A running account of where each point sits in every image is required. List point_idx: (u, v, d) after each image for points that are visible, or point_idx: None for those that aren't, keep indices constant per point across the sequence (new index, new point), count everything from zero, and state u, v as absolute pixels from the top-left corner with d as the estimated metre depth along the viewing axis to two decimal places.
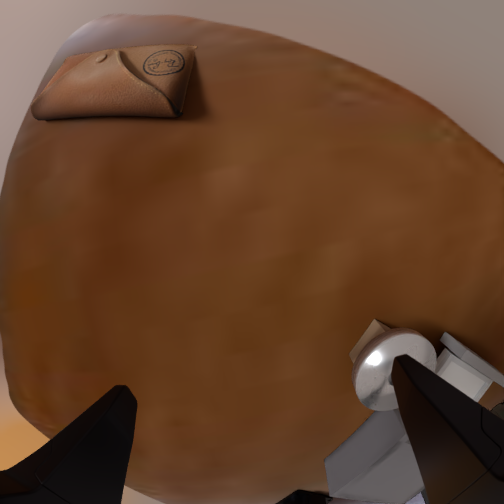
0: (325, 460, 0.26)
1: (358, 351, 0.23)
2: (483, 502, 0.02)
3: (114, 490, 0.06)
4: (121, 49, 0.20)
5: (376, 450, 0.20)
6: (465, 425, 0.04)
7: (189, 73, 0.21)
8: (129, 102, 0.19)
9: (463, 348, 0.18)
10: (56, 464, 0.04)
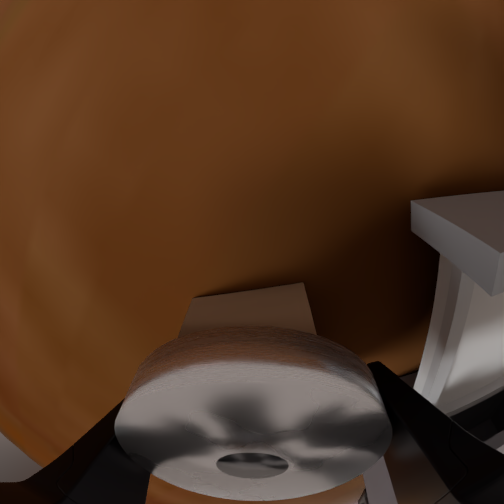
0: None
1: None
2: None
3: (138, 495, 0.06)
4: None
5: None
6: (432, 439, 0.04)
7: None
8: None
9: (485, 250, 0.04)
10: (80, 472, 0.04)
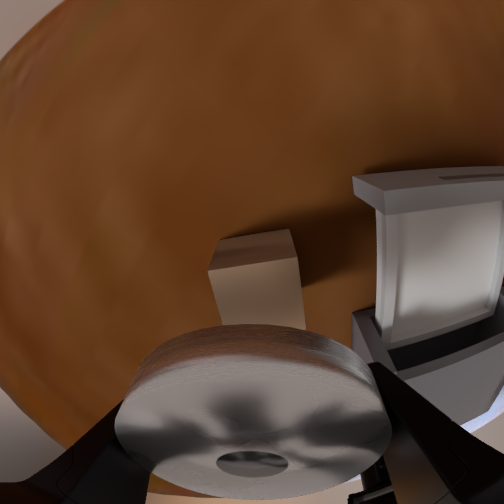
0: None
1: None
2: None
3: (137, 496, 0.06)
4: None
5: None
6: (432, 439, 0.04)
7: None
8: None
9: (379, 192, 0.11)
10: (80, 472, 0.04)
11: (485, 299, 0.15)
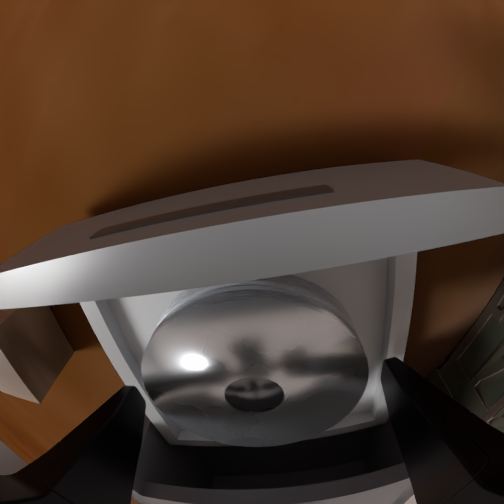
0: None
1: None
2: None
3: (123, 492, 0.06)
4: None
5: None
6: (453, 431, 0.04)
7: None
8: None
9: None
10: (65, 467, 0.04)
11: (366, 403, 0.10)
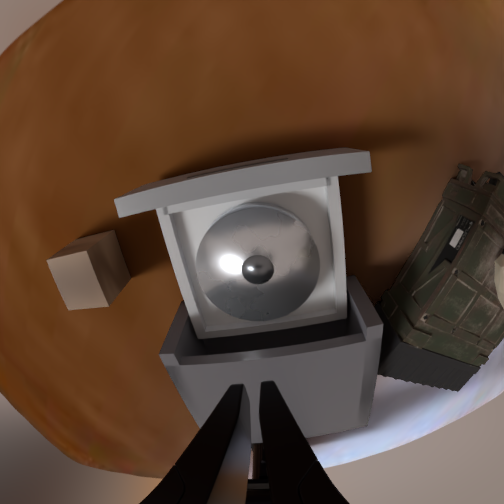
0: None
1: None
2: None
3: None
4: None
5: None
6: (288, 474, 0.04)
7: None
8: None
9: None
10: (197, 497, 0.04)
11: (329, 299, 0.18)
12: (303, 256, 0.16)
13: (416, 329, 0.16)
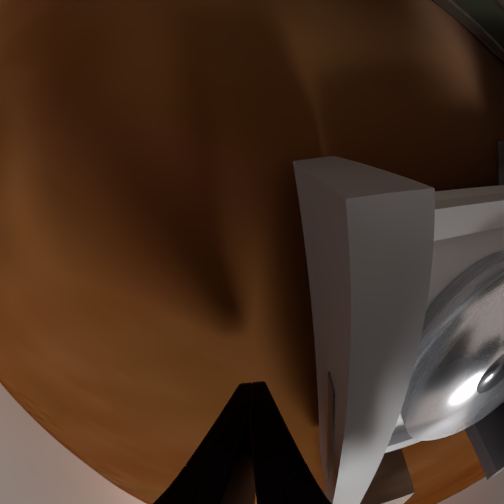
0: None
1: None
2: None
3: None
4: None
5: None
6: (275, 476, 0.04)
7: None
8: None
9: None
10: (210, 498, 0.04)
11: None
12: None
13: None
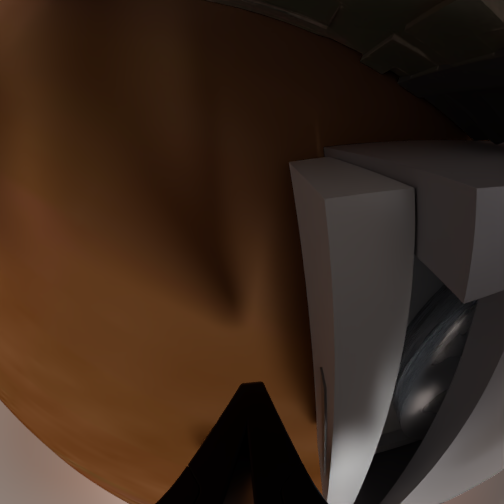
0: None
1: None
2: None
3: None
4: None
5: None
6: (272, 476, 0.04)
7: None
8: None
9: None
10: (212, 498, 0.04)
11: None
12: None
13: None
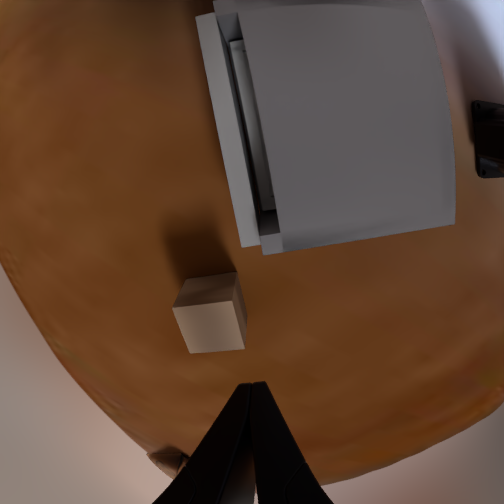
0: None
1: None
2: None
3: None
4: None
5: None
6: (276, 476, 0.04)
7: (161, 455, 0.34)
8: None
9: None
10: (209, 498, 0.04)
11: None
12: None
13: None
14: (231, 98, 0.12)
